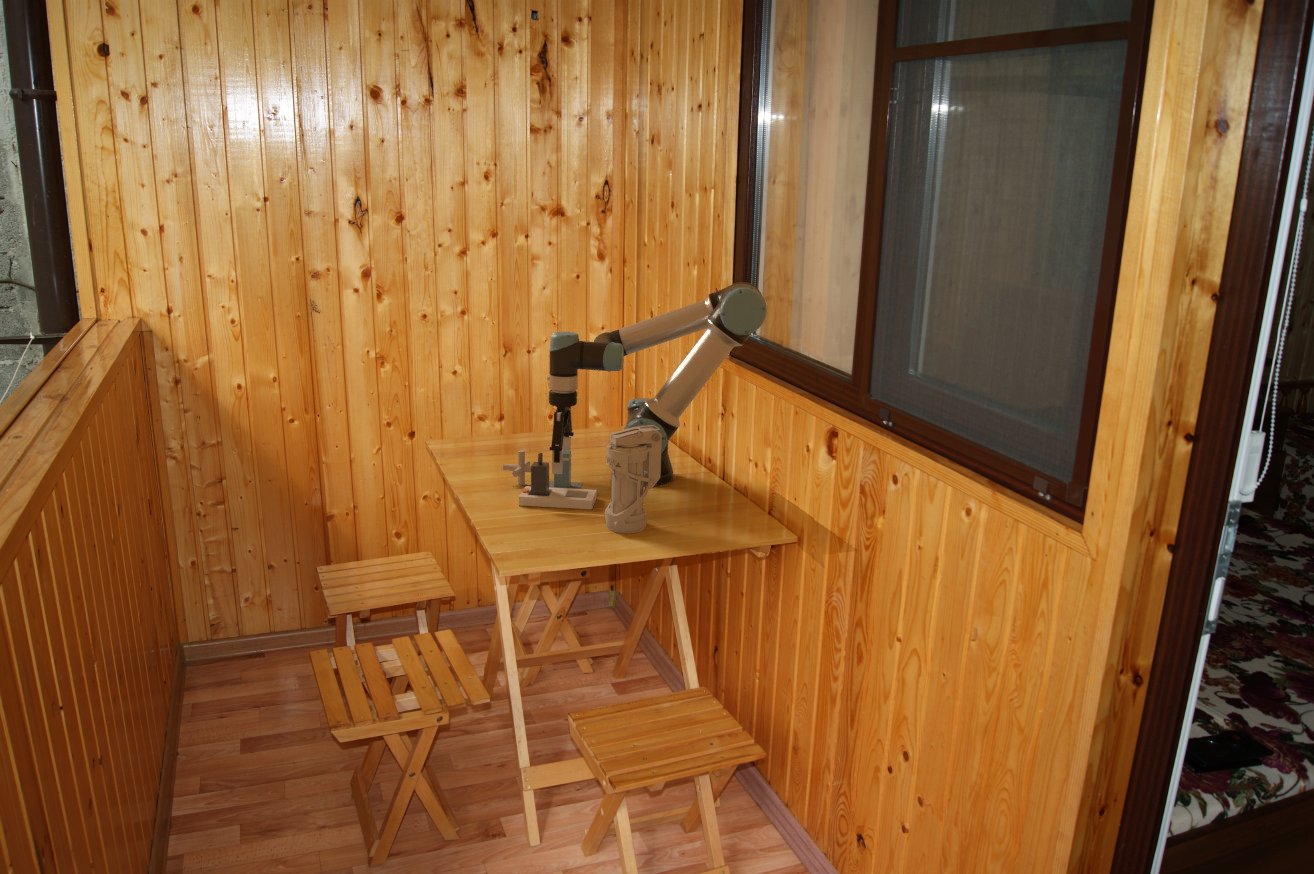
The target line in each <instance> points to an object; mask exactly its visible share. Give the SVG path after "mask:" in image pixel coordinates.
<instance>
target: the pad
mask: <svg viewBox="0 0 1314 874" xmlns="http://www.w3.org/2000/svg"><path fill="white" fill-rule="evenodd" d="M583 483H584V482H581V481H580V482H578V481H571V486H570V489H582V486H583ZM549 487H551V488H554V480H549Z"/></svg>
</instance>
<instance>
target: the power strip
mask: <svg viewBox="0 0 1314 874" xmlns="http://www.w3.org/2000/svg"><path fill="white" fill-rule="evenodd" d="M524 486H525V485H524ZM597 493H598V492H597V489H585V488H580V489H570V488H551V487H549V496H537V495H531V485H530V486H529V485H527V486H525V487H523V490H522V491H521V493H520V494H519V495H518V507H528V508H529V507H531V508H547V509H565V510H566V509H568V510H585V511H586V510H587V511H592V510H593V508H594V506H595V503H596V500H597Z"/></svg>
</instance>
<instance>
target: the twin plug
mask: <svg viewBox="0 0 1314 874" xmlns="http://www.w3.org/2000/svg"><path fill="white" fill-rule="evenodd" d="M543 457H544V455H543V452H538V453H537V461H533V463H532V464H531V465H530V466H531V472H530V486H531V495H537V496H549V481H550V462H546V461H545V462H543Z"/></svg>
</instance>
